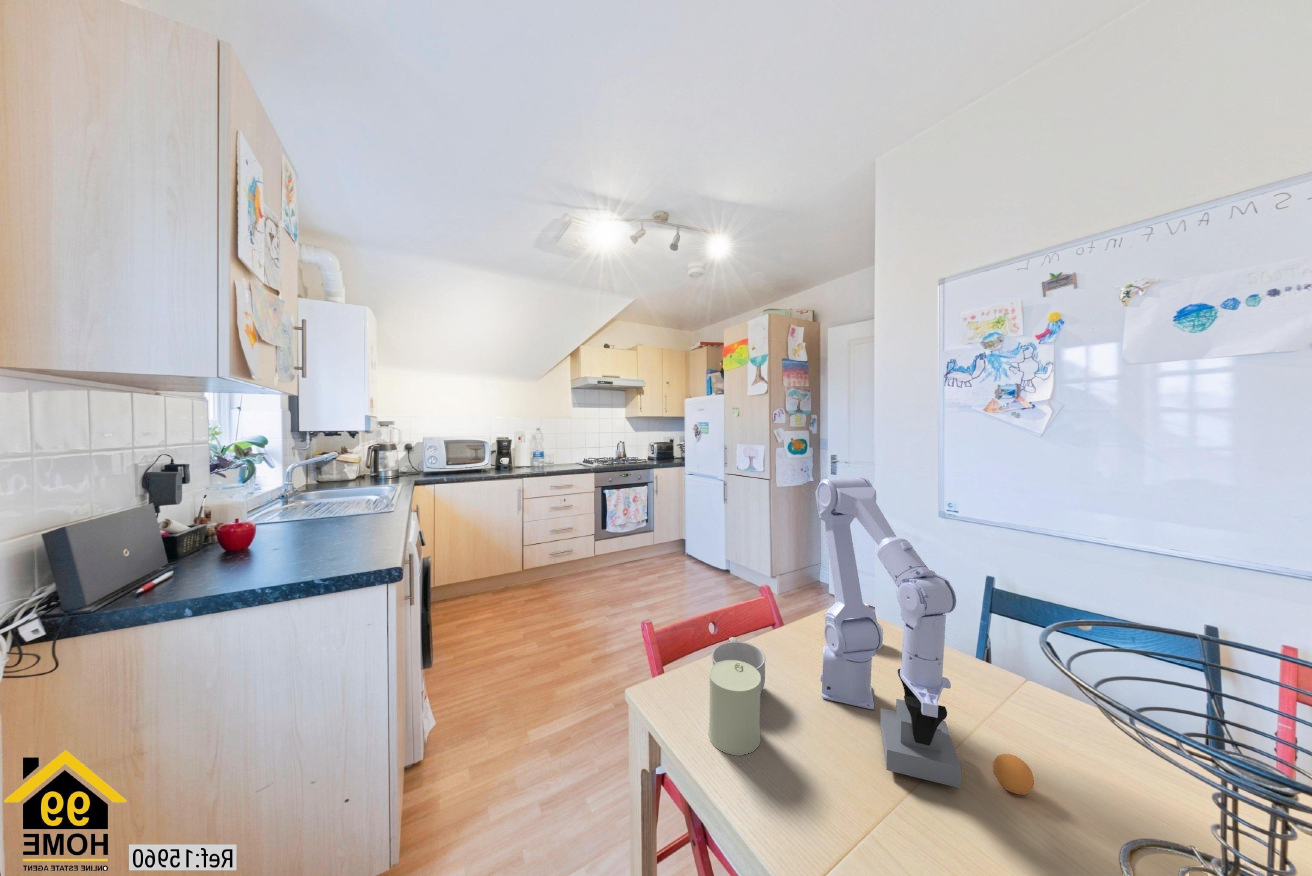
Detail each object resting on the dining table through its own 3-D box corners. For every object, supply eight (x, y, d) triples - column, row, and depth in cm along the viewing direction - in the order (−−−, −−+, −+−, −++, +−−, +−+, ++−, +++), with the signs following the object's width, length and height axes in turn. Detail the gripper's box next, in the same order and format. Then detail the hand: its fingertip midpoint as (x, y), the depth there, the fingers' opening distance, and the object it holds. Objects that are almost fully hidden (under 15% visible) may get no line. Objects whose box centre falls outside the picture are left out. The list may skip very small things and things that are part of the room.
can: (762, 724, 83) (764, 662, 82) (757, 762, 74) (758, 693, 73) (713, 712, 86) (714, 653, 85) (703, 747, 77) (703, 682, 76)
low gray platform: (886, 770, 71) (887, 727, 71) (880, 726, 81) (880, 688, 80) (960, 788, 68) (961, 743, 67) (944, 740, 77) (946, 700, 76)
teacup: (765, 712, 86) (766, 673, 85) (709, 705, 88) (709, 666, 88) (763, 670, 100) (763, 635, 99) (714, 664, 102) (714, 630, 101)
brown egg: (1042, 805, 66) (1001, 800, 68) (1030, 780, 70) (992, 775, 72) (1035, 771, 66) (994, 766, 68) (1024, 748, 70) (986, 744, 72)
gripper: (964, 682, 64) (958, 770, 66) (941, 633, 78) (936, 706, 79) (908, 671, 67) (904, 756, 68) (895, 625, 80) (892, 697, 82)
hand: (918, 729), depth 74 cm, fingers closed on low gray platform, 6 cm apart
